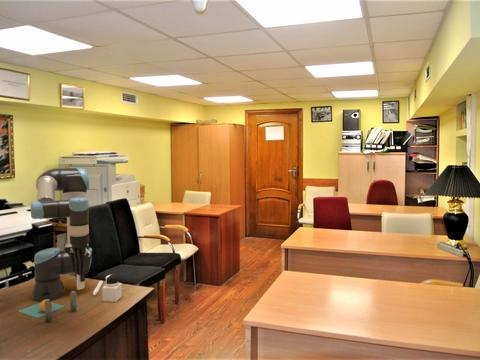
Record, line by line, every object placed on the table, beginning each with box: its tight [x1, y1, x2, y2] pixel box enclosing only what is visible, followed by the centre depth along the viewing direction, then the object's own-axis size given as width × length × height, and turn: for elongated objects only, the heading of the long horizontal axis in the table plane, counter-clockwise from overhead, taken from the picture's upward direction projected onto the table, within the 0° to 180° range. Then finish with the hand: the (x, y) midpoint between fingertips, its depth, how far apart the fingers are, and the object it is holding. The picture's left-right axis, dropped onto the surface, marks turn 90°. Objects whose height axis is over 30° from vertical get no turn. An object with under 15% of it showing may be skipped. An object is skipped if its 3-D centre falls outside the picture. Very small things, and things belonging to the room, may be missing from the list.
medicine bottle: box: [101, 273, 123, 303], centre depth 192 cm, size 7×7×12 cm
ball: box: [39, 299, 54, 312], centre depth 177 cm, size 6×6×6 cm
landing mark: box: [17, 301, 65, 319], centre depth 180 cm, size 14×14×1 cm
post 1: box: [44, 300, 53, 324], centre depth 167 cm, size 3×3×9 cm
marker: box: [92, 280, 104, 296], centre depth 205 cm, size 18×2×2 cm, turn 9°
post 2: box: [69, 290, 78, 313], centre depth 178 cm, size 3×3×9 cm
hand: (80, 288), depth 166 cm, fingers closed
